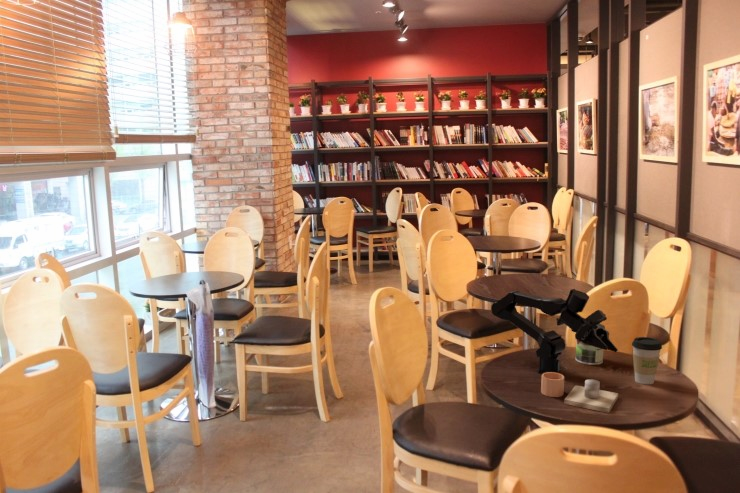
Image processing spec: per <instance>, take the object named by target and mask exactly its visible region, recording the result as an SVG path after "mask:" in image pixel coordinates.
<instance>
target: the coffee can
mask: <svg viewBox="0 0 740 493" xmlns="http://www.w3.org/2000/svg"><path fill="white" fill-rule="evenodd" d="M597 326H598V328H597V329H599V328H603V329H606V326H605V325H603V324H602V323H600V324H598V325H597ZM597 329H596V331H597ZM582 340H584V339H582ZM575 343H576V344H575V345H576V346H575V348H576V349H575V359H574V360H575V361H576V362H578V363H580V364H582V365H589V366H597V365H602V364H603V362H604V349H601V348H597V347H594V346H591V345H588V344H584V343H582V342H579V341H578V340H577V339H576V342H575Z"/></svg>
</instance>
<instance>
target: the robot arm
mask: <svg viewBox="0 0 740 493" xmlns="http://www.w3.org/2000/svg"><path fill="white" fill-rule="evenodd" d="M589 299H590V296H589V295H588V294H587V293H586V292H583V291H580V290H576V289H575V288H572V289H570V291H569V294H568V296H567V298H566V299H563V298H562V297H543V296H538V295H534V294H531V293H526V292H522V291H519V290H512V291H509V292H508V293H507V294H506V295H505V296H504V297H502V298H500V299H498V301H494V302H493V303H492V304H491V307H490V310H491V314H492V315H493V317H495V318H498V319H500V320H502V321H503V320H504V321H507V322H510V323H511V324H512V325H514V326H515V327H516V328H518V329H519V330H520V331H522V332H523V333H525V334H526V335H528V336H529V337H531V339H533V340H534V341H536V343H537V345H538V347H539V348H538V349H537V350H535V354H536V357H538V358H539V361H538V362H539V364H538V365H539V367H538V370H537V373H538V374H539V373H540V374H543V373H546V372H555V373H559V372H560V368H561V367H560V365H561V360H560V358H559V356H561V355H562V353H563V352H564V351H565V349H566V340H565V339H564V338H563V337H562V336H563V335H562V334H559V333H557V332H556V331H555V330H549V331H545V330H544V329H542V328H541V327H539V326H538V325H537V324H536V323H534V322H532V321H531V320H530V319H528V318H527V317H525V316H524V315H523V314H521V313H520V312H519V311H518V310H517V307H516V306H517V304H519V305H524V306H526V307H530V308H534V309H538V310H540V312H542V313H543V314H545V315H547V316H550V317H554V316H556V315H559V317H557V318H555V320H556V325H557V326H558V327H559V326H562V325H565V326H566V327H568V328H569V329H570V331H571V332H573V333H575V334H574V337H575V340H576V341H577V340H578V341H579V342H582V343H584V344H588V345H591V346H594V347H597V348H601V349H603V351H604V350H605V351H607V350H608V351H611V352H614V353H617V352H618V348H617V347H616V346H615V344H614V343H613V341H611V340H610V337H609V336H610V331H608V330H607V329H606V328H605V329H603V328H599V329H597V328H598V326H597V325H598V324H602V322H606V321H607V320H608V318H607V316H606V314H605V312H603V311H602V310H600V309H597V310H595V311H594V312H592V313H591V314H589V315H588V316H586V317H583V316H581V315H580V314H579V313H583V311H584V310H585V308H586V306H587V304H588V301H589ZM596 329H597V331H596ZM582 339H584V340H582Z"/></svg>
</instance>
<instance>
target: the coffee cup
mask: <svg viewBox="0 0 740 493" xmlns="http://www.w3.org/2000/svg"><path fill="white" fill-rule="evenodd" d="M631 346H632V350H633V351H632V358H633V359H632V360H633V371H634V381H635V382H636V383H638V384H640V385H641V384H642V385H653V384H654V382H655V378H656V374H657V370H658V366H659V360H660V355H661V354H660V353H661V349H662V348H663V346H662V343H661V341H660V340H659V339H656V338H653V337H650V336H649V337H647V336H638V337H635V338H634V339H633V341H632V343H631Z"/></svg>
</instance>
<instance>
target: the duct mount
mask: <svg viewBox="0 0 740 493" xmlns="http://www.w3.org/2000/svg"><path fill="white" fill-rule="evenodd" d="M600 384H601V383H600V381H599V380H596V379H592V378H591V379H585V381H584V386H582V385H574V387H573V388H572V389H571V391H570V392H569V393H568V394H567V396H566V397H565V398H564V402H563V404H564V405H569V406H573V407H579V408H583V409H589V410H593V411H598V412H602V413H606V414H607V413H608V414H609V413H610V412H611V411H612V409H613V407H614V406H615V404H616V402H617V400H618V399H619V392H618V393H617V392H612V391H607V390H602V389H600V387H601V385H600Z"/></svg>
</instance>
